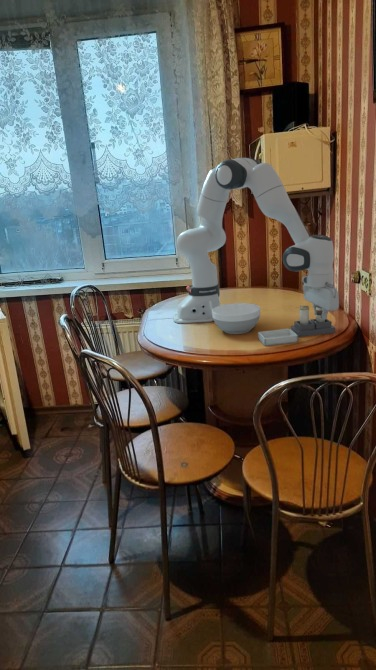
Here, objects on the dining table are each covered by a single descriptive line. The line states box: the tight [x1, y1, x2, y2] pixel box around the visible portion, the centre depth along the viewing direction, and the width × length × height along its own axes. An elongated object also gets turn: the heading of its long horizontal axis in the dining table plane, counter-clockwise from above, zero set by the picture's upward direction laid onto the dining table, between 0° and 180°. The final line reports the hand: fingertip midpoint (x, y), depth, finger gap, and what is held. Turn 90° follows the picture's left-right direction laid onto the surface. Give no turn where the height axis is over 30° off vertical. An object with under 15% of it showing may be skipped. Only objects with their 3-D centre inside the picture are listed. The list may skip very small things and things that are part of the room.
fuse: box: [298, 305, 310, 325], centre depth 173 cm, size 4×4×8 cm
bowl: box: [212, 302, 261, 335], centre depth 184 cm, size 19×19×9 cm
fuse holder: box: [290, 318, 336, 338], centre depth 175 cm, size 14×8×4 cm, turn 97°
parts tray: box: [257, 328, 299, 347], centre depth 169 cm, size 12×9×2 cm
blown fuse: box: [315, 305, 325, 323], centre depth 174 cm, size 4×4×8 cm
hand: (320, 317), depth 174 cm, fingers closed on blown fuse, 3 cm apart
